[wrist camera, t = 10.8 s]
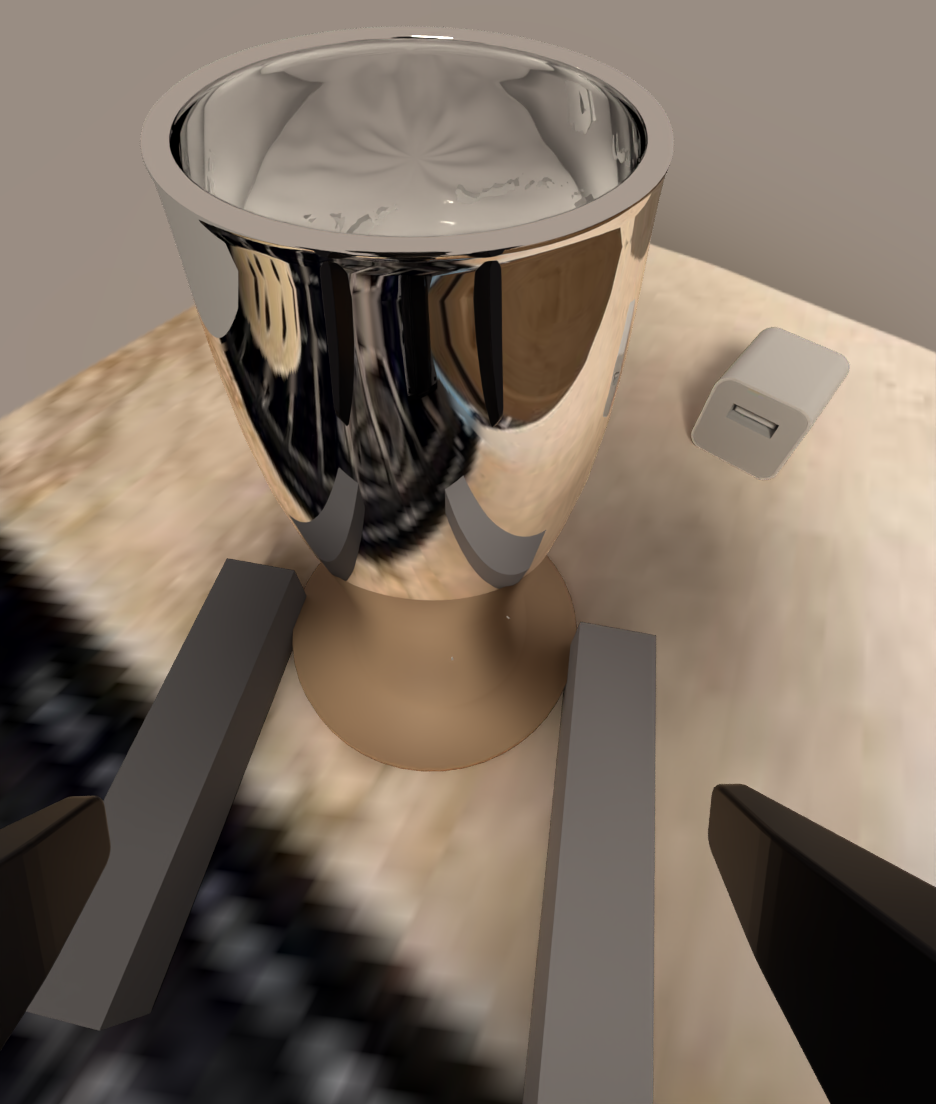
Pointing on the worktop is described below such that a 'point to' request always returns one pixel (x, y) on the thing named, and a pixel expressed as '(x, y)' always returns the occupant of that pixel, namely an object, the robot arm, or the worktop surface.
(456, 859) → the worktop surface
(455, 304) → the silver metal cup
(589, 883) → the grey square beam
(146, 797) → the long grey square rod
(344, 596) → the coaster
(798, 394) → the usb wall charger
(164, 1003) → the worktop surface
